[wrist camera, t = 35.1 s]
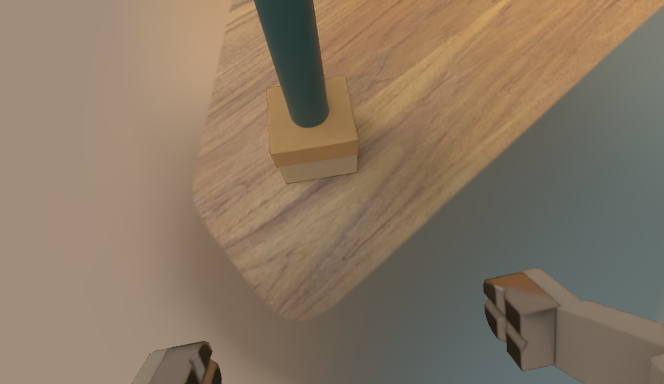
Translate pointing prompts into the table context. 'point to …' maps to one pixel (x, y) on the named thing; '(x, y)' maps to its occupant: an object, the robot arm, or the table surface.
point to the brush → (305, 98)
